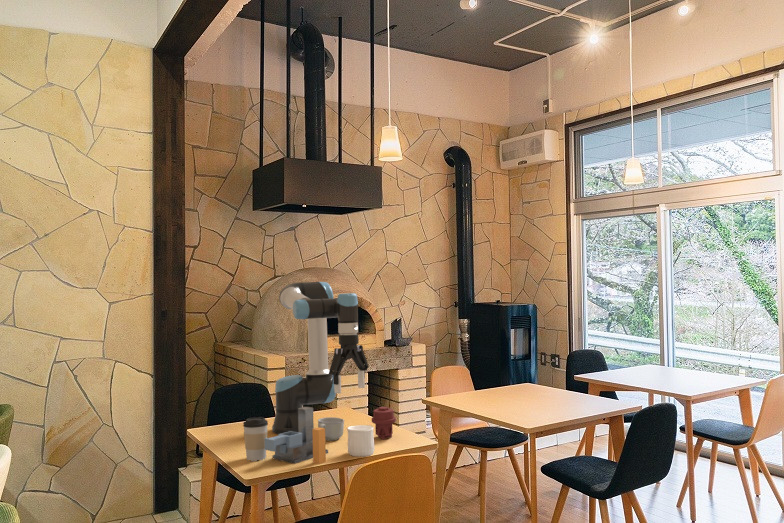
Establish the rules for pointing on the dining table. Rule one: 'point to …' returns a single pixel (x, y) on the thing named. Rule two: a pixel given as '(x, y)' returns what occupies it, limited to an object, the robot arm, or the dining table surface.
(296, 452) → the grey fixture stand
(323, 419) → the teacup
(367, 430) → the cup
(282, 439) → the bracket
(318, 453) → the orange rectangular block
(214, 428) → the dining table surface
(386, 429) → the mechanical component
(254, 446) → the coffee cup
